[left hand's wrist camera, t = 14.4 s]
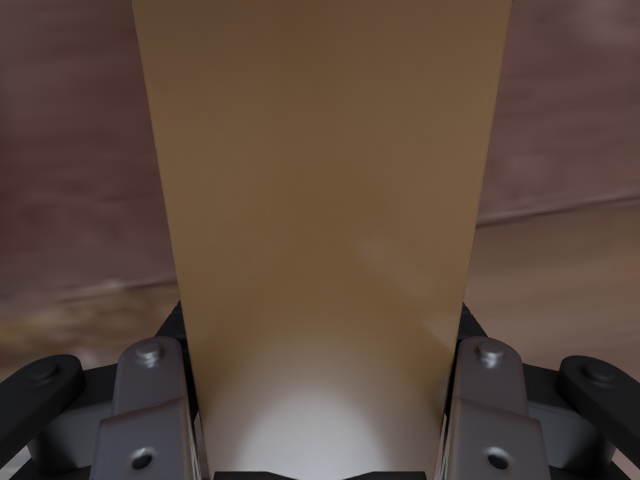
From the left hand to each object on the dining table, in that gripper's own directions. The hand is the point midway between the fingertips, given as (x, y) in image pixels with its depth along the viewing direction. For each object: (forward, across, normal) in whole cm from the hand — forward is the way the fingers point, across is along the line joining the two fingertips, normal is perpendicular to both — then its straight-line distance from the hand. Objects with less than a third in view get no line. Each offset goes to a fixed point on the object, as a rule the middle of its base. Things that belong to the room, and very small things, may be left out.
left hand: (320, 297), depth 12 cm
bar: (+4, 0, -9) cm, 9 cm away
